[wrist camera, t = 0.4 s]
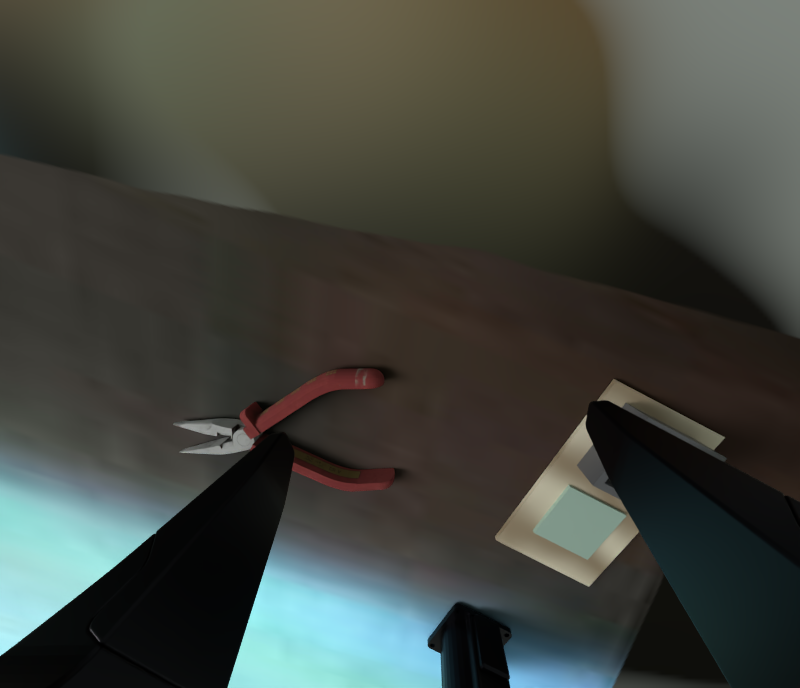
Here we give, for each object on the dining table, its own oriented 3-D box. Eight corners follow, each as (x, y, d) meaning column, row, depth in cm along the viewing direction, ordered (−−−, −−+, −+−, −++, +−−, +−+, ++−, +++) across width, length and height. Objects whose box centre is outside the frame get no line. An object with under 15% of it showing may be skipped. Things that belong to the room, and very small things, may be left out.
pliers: (172, 375, 28) (147, 385, 25) (385, 362, 26) (380, 372, 23) (202, 481, 30) (181, 500, 28) (397, 476, 28) (394, 497, 26)
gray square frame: (643, 499, 25) (666, 523, 23) (576, 465, 25) (592, 485, 23) (696, 439, 24) (726, 458, 21) (625, 402, 24) (648, 417, 21)
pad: (585, 556, 27) (587, 560, 27) (532, 530, 27) (533, 532, 27) (624, 513, 26) (626, 515, 26) (568, 484, 26) (570, 487, 25)
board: (586, 582, 28) (588, 586, 28) (495, 536, 28) (496, 540, 28) (720, 435, 24) (725, 437, 24) (613, 378, 24) (616, 380, 23)
